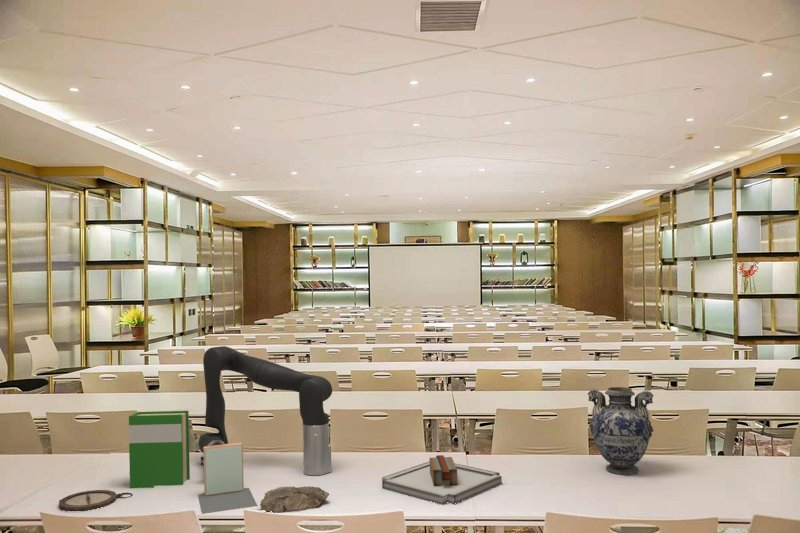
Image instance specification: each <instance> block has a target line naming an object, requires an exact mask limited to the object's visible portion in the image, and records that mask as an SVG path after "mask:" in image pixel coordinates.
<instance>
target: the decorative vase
mask: <svg viewBox="0 0 800 533" xmlns="http://www.w3.org/2000/svg"><path fill="white" fill-rule="evenodd" d="M587 395H588V399H587V400H588V402H592V403H593V404H594V405H593V408H592V411H591V414H592V417H591V421H590V422H589V425H588V427H589V429H590V433H591V435H593V440H594V442H595V445H596V447H597V450H598V452H599V453H600V455H601V456H602V458H603V459H604V460H606V462H608V463H609V464H608V465H606V466H605V467H606V468H605V470H606V471H607V472H609V473H611V474H613V475H614V474H615V475H625V476H631V475H637V474H638V473H640V470H639V468H638V467H637V466H636V464H637V463H638V462H640V461H641V459H642V458H643V457H644V455H645V453H646V451H647V449H648V446H649V443H650V438H651V437H652V436H653V433H654V429H653V426H652V422H651V420H649V419H650V414H649V413H650V412H649V410H648V408H647V407H648V405H649V404H653V403H654V401H653V397H654V394H653V393H652V391H649V390H643V391H640V392H639V393H637V394H636V393H635V392H634V391H633V390H632V388H630V387H624V386H623V387H621V386H619V387H618V386H613V387H608V388H607V390H606V391H604V394H603V392H601V391H599V390H598V389H592V390H591V389H589V392H588V393H587ZM605 395H607V396H608V403H609V404H607V402H606V396H605ZM633 396H635V397H634V405H632V402H633V401H632V397H633ZM643 401H644V402H643Z"/></svg>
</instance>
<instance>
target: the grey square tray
mask: <svg viewBox="0 0 800 533" xmlns="http://www.w3.org/2000/svg"><path fill="white" fill-rule="evenodd" d="M502 480H503V476H502V475H500V472H497V471H492V470H487V469H483V468H478V467H474V466H468V465H464V464H461V463H455V462H454V459H453V457H452V456H444V455H443V454H441V455H440V454H439V455H435V457H429V460H428V461H427V462H423V463H421V464H418V465H415V466H411V467H409V468H406V469H402V470H400V471H397V472H394V473H391V474H388V475H385V476H382V477H381V482H382V484H381V486H382V489H384V490H387V491H391V492H393V493H398V494H401V495H404V496H405V495H406V496H408V497H412V498H416V499H419V498H420V500H423V499H424V501H427V500H428V501H427V502H430V501H432V502H431V503H434V502H435V504H438V503H439V504H438V505H441V504H442V506H443V505H445V503H446V504H447V502H449V503H448V504H451V503H452V505H455V503H456V504H458V502H459V503H461V502H463V501H465V499H466V500H468V499H470V498H472V497H475V496H477V495H479V494H481V493H484V492H486V491H488V490H491V489H493V488H496V487H497V486H500V485H502V484H503V482H502ZM469 497H470V498H469ZM467 498H468V499H467ZM462 500H463V501H462ZM460 501H461V502H460Z"/></svg>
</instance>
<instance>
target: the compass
mask: <svg viewBox="0 0 800 533" xmlns="http://www.w3.org/2000/svg"><path fill="white" fill-rule="evenodd" d="M123 495H124V496H123ZM125 495H129V496H125ZM133 496H134V495H133V493H131V492H122V493H118V494H117V493H116V492H115V491H113V490H109V489H108V490H107V489H96V490H95V489H94V490H85V491H81V492H76V493H73V494H69V495H67V496H65V497H63V498H61V499H59V501H58V507H60V508H59V509H60V510H61V511H63V510H66V511H65V512H67V511H81V512H89V511H93V509H94V510H98V509H97V508H99V509H101V507H102V508H104V507H107V506H110V505H112V504H113V503H115V502H116V500H117V499H127V498H132V497H133ZM88 510H89V511H88Z"/></svg>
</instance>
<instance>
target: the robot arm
mask: <svg viewBox="0 0 800 533" xmlns="http://www.w3.org/2000/svg"><path fill="white" fill-rule="evenodd" d="M202 360H203V361H202V363H203V366H202V367H203V373H204V374H203V376H204V383H205V385H204V386H205V394H206V395H205V397H206V398H205V417H204V418H205V419H204V420H205V421H204V424H205V426H206V427H208V428H211V429H216V430H217V431H218V432H206V433H203V434H202V435H201V436H200V437H199V439H198V448H199V450H200V452H201V453H202V454H204V451H203V447H205V446H214V445H223V444H229V439H228V436H227V431H226V424H225V423H226V422H225V419H226V418H225V417H226V401H225V398H224V393H223V392H222V388H221V381H220V380H221V374H222V373H221V372H222V371H223V372H224V371H230V372H235V373H238V374H242V375H244V376H245V377H247V379H248V380H249V381H251V382H252V383H254V384H256V385H258V386H261V387H264V388H267V389H271V390H276V391H278V390H281V391H290V392H296V393H298V401H299V402H298V403H299V414H300V417H301V419H302V448H303V449H302V450H303V451H302V452H303V454H302V455H303V456H302V457H303V474H305V475H307V476H321V475H327V474H329V473H332V446H331V444H330V418H329V414H328V413H325V411H324V402H325V401H327V400H328V399H329V398H330V397H331V396H332V394H333V387H332V384H331V382H330V381H329V380H328V379H327V378H325V377H323V376H320V375H315V374H309V373H304V372H302V371H301V372H300V371H297V370H294V369H292V368H289V367H287V366H283V365H281V364H279V363H275V362H272V361H269V360H266V359H263V358H259V357H256V356H255V357H254V356H251V355H247V354H245V353H242V352H241V351H238V350H236V349H233V348H232V347H229V346H223V345H222V346H214V347H210V348H208V349H207V350H206V351H205V352H204V354H203V359H202ZM200 465H201V466H204V456H201V457H200Z"/></svg>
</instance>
